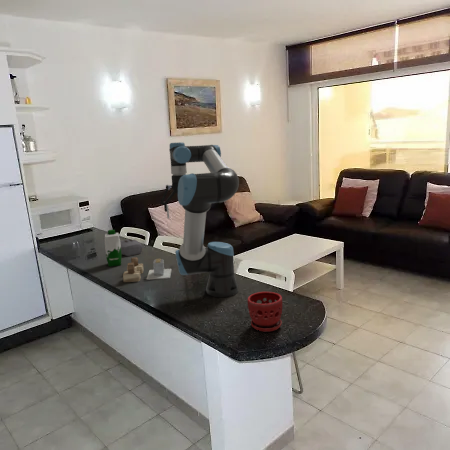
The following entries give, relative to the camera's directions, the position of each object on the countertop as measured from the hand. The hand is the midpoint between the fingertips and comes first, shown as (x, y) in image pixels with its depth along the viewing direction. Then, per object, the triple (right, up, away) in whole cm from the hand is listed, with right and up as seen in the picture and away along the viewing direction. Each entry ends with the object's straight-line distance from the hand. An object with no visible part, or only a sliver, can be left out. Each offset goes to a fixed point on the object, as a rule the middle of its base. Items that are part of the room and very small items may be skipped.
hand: (182, 217), depth 204 cm
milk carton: (-43, -27, +35) cm, 62 cm away
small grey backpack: (-41, -22, +60) cm, 76 cm away
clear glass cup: (-14, -30, +14) cm, 36 cm away
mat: (-14, -30, +14) cm, 36 cm away
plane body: (-27, -31, +14) cm, 44 cm away
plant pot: (+37, -43, -48) cm, 74 cm away
